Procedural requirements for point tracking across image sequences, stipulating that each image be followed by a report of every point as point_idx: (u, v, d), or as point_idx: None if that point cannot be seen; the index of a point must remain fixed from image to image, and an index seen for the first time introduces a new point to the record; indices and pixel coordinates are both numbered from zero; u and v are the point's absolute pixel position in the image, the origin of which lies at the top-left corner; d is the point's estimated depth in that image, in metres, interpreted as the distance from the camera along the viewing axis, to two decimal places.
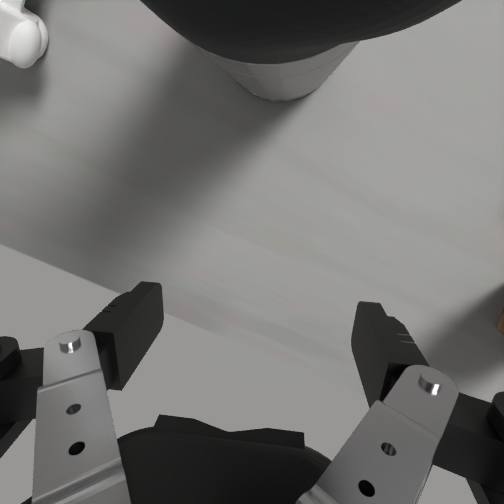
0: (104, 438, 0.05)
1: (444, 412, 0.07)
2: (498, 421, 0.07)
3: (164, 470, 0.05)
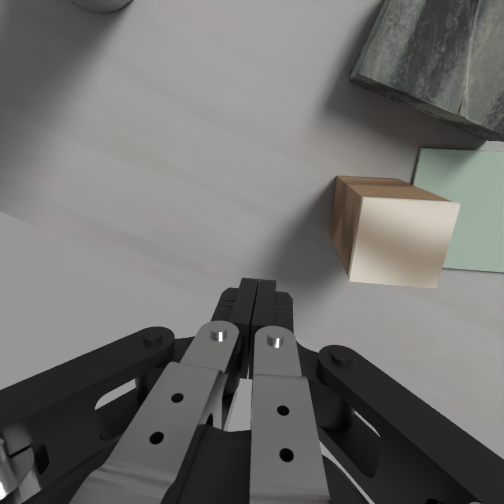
0: (178, 443, 0.05)
1: (271, 358, 0.08)
2: (328, 377, 0.08)
3: None
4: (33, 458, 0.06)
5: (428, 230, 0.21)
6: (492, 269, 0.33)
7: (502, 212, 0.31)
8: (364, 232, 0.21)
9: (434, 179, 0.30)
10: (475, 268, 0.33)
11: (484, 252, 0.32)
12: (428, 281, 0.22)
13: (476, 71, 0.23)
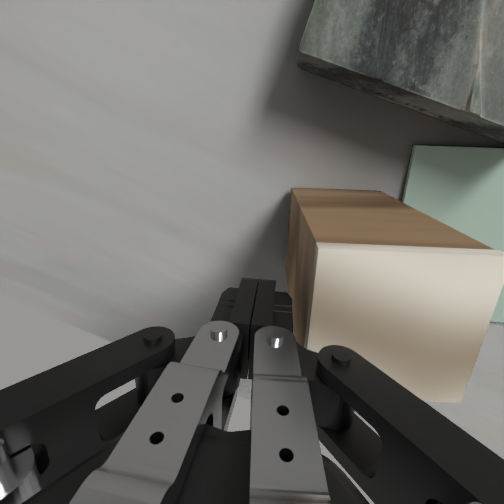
0: (179, 443, 0.05)
1: (270, 358, 0.08)
2: (328, 377, 0.08)
3: None
4: (33, 458, 0.06)
5: (447, 307, 0.10)
6: None
7: None
8: (324, 312, 0.11)
9: (435, 192, 0.20)
10: (497, 319, 0.23)
11: None
12: (446, 392, 0.12)
13: (496, 36, 0.14)
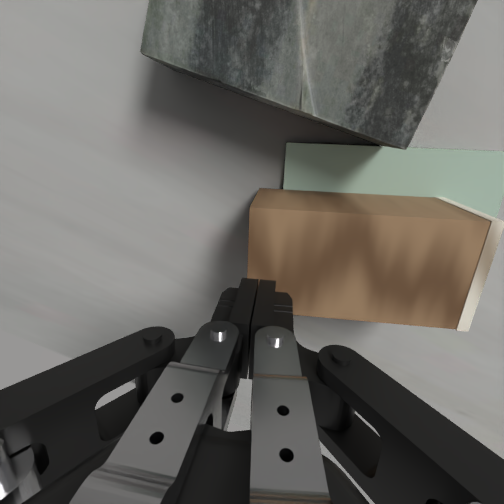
0: (178, 443, 0.05)
1: (271, 358, 0.08)
2: (328, 377, 0.08)
3: None
4: (33, 458, 0.06)
5: None
6: None
7: None
8: None
9: (310, 188, 0.21)
10: None
11: None
12: None
13: (316, 39, 0.14)
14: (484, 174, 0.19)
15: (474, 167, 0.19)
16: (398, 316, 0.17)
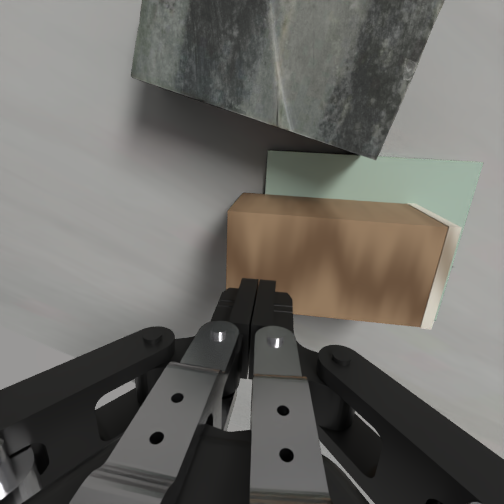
0: (179, 443, 0.05)
1: (271, 358, 0.08)
2: (328, 377, 0.08)
3: None
4: (33, 458, 0.06)
5: None
6: None
7: None
8: None
9: (290, 193, 0.22)
10: None
11: None
12: None
13: (290, 62, 0.16)
14: (452, 182, 0.21)
15: (443, 176, 0.21)
16: (366, 314, 0.18)
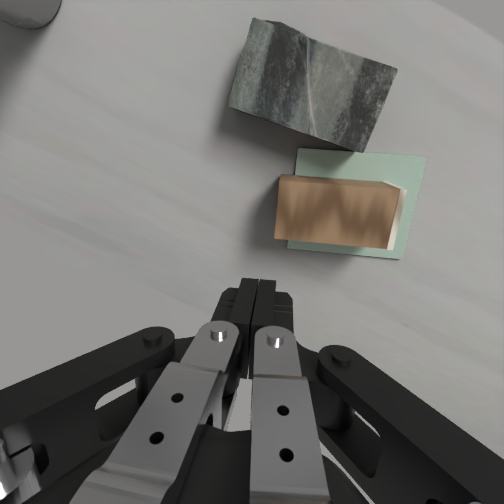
0: (178, 443, 0.05)
1: (271, 358, 0.08)
2: (328, 377, 0.08)
3: None
4: (33, 458, 0.06)
5: None
6: (368, 254, 0.38)
7: None
8: None
9: (311, 175, 0.36)
10: (353, 253, 0.38)
11: None
12: None
13: (316, 100, 0.29)
14: (409, 169, 0.34)
15: (404, 164, 0.34)
16: (356, 241, 0.31)
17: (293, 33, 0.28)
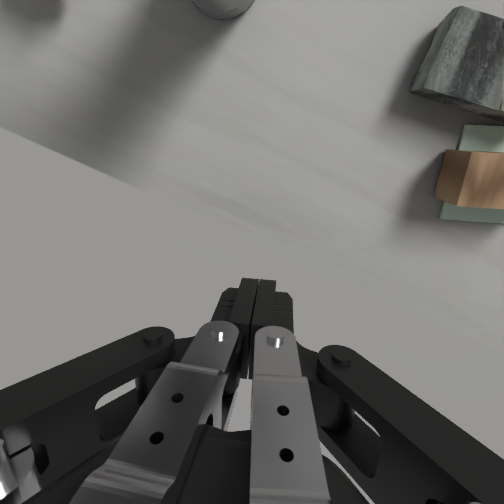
0: (178, 443, 0.05)
1: (271, 358, 0.08)
2: (328, 377, 0.08)
3: None
4: (33, 458, 0.06)
5: None
6: None
7: None
8: None
9: (474, 149, 0.39)
10: None
11: None
12: None
13: None
14: None
15: None
16: None
17: (498, 18, 0.31)
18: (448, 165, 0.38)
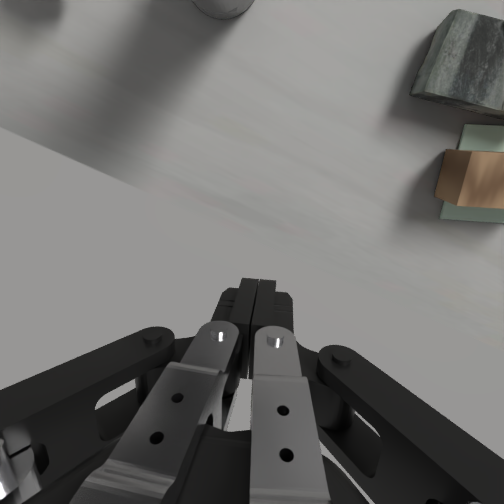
0: (178, 443, 0.05)
1: (271, 358, 0.08)
2: (328, 377, 0.08)
3: None
4: (33, 458, 0.06)
5: None
6: None
7: None
8: None
9: (474, 149, 0.39)
10: None
11: None
12: None
13: None
14: None
15: None
16: None
17: (496, 20, 0.31)
18: (448, 165, 0.38)
